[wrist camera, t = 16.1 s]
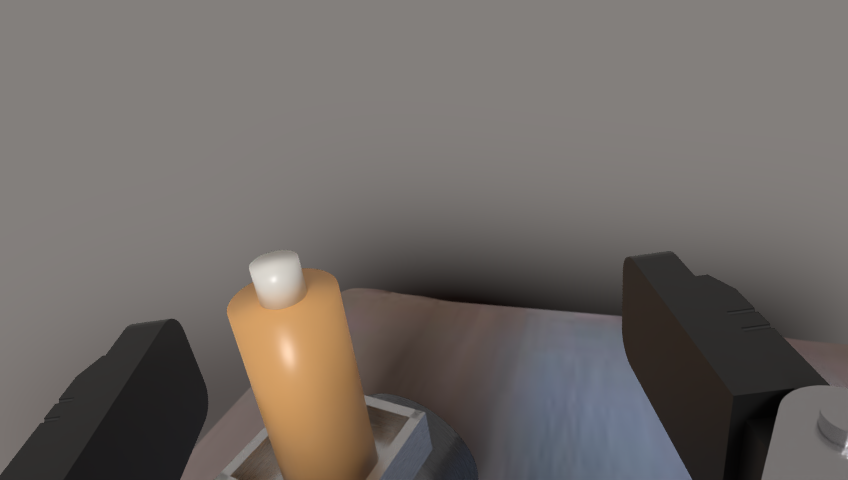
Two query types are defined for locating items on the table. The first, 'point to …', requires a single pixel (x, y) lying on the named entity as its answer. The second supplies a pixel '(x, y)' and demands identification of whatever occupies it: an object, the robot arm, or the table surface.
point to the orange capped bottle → (303, 370)
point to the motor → (381, 447)
